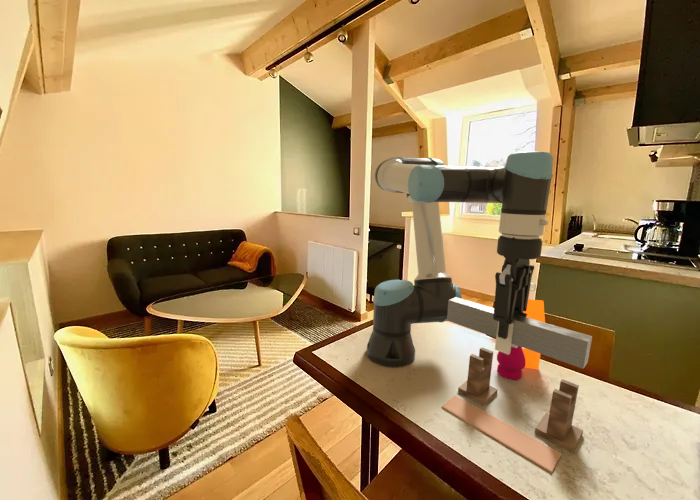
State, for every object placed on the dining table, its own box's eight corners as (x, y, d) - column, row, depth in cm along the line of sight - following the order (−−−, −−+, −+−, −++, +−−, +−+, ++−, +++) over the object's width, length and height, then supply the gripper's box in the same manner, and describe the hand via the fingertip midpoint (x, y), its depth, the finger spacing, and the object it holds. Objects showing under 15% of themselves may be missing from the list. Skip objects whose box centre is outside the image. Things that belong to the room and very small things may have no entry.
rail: (446, 320, 71) (448, 299, 70) (454, 316, 74) (455, 297, 73) (583, 368, 52) (588, 341, 51) (587, 362, 55) (592, 336, 54)
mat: (441, 407, 74) (441, 405, 74) (454, 396, 78) (454, 395, 78) (551, 473, 57) (551, 471, 57) (560, 455, 61) (561, 453, 61)
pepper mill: (527, 383, 84) (537, 314, 80) (499, 379, 85) (507, 311, 81) (518, 368, 90) (527, 304, 87) (492, 365, 92) (500, 302, 88)
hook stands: (458, 391, 80) (461, 352, 77) (471, 380, 84) (475, 343, 82) (573, 453, 61) (582, 404, 59) (582, 435, 66) (590, 389, 64)
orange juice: (500, 351, 100) (508, 293, 96) (531, 356, 98) (539, 296, 94) (506, 364, 92) (514, 301, 89) (538, 369, 90) (548, 305, 86)
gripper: (525, 242, 51) (509, 370, 55) (555, 234, 62) (540, 342, 66) (481, 237, 56) (469, 354, 61) (516, 230, 67) (504, 330, 71)
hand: (506, 348), depth 63 cm, fingers closed on rail, 3 cm apart
